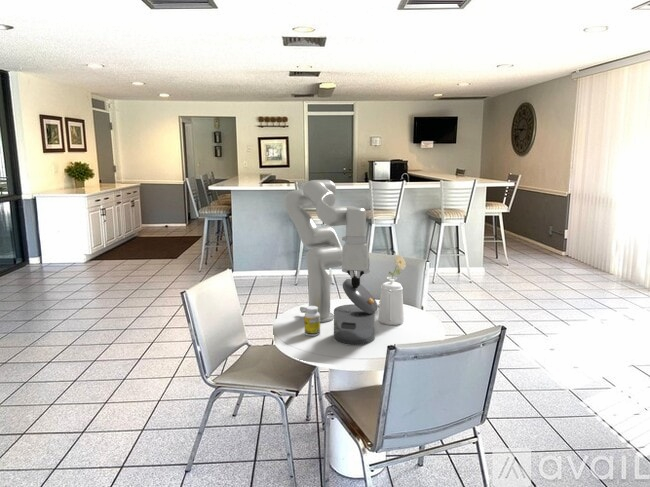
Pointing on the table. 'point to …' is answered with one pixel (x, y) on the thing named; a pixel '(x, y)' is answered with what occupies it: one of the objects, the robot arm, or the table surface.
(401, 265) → the flower in vase
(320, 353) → the table surface
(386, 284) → the coffeepot
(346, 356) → the table surface
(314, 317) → the pill bottle
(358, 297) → the cooker lid
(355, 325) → the cooker pot
